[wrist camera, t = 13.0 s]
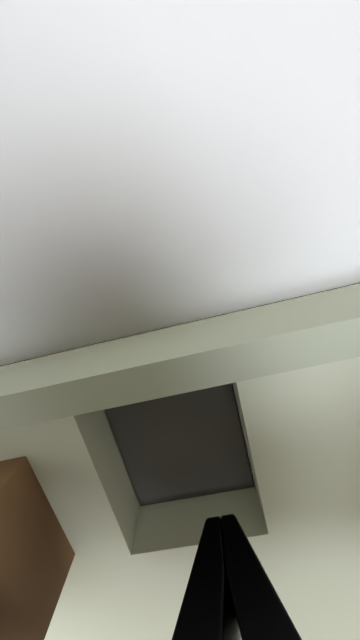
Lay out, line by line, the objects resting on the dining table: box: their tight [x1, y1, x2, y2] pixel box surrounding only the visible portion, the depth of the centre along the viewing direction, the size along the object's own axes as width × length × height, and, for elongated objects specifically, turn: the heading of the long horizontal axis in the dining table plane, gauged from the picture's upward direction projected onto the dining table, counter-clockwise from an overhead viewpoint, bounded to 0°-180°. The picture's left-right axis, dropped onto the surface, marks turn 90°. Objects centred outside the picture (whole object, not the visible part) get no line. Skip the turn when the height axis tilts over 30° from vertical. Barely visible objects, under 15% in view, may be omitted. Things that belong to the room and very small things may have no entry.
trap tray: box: [0, 283, 360, 640], centre depth 10 cm, size 16×25×3 cm, turn 104°
